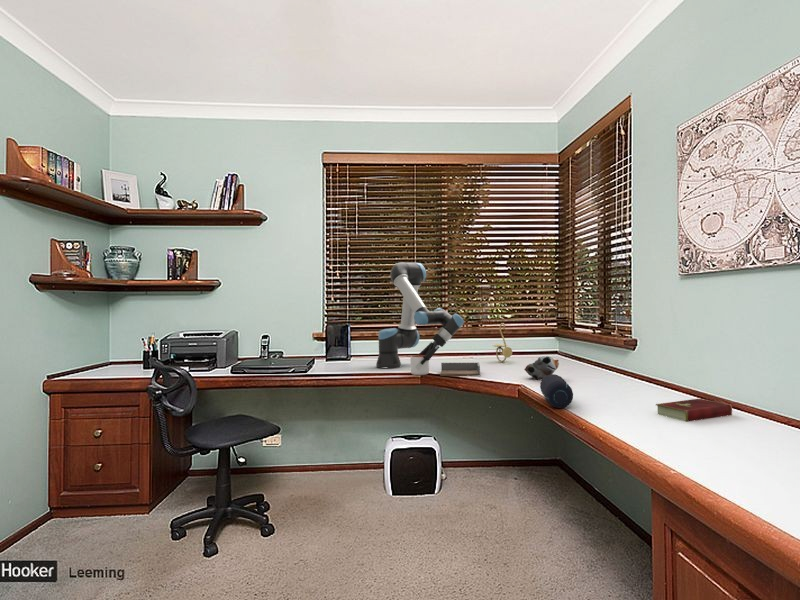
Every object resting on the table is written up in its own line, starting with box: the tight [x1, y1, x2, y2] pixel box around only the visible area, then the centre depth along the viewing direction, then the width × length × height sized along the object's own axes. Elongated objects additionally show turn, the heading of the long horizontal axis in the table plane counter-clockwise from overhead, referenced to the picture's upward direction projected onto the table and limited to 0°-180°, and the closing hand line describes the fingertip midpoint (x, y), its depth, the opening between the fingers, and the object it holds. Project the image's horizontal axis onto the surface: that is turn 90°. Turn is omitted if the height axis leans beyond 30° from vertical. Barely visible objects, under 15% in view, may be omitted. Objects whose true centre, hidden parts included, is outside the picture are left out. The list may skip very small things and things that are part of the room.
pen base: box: [439, 370, 481, 377], centre depth 275 cm, size 15×21×1 cm
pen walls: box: [440, 362, 481, 375], centre depth 275 cm, size 15×21×4 cm
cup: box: [410, 354, 430, 376], centre depth 277 cm, size 10×10×10 cm
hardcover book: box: [655, 398, 733, 422], centre depth 171 cm, size 12×21×4 cm, turn 111°
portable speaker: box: [539, 373, 574, 409], centre depth 195 cm, size 25×10×10 cm, turn 171°
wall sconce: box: [492, 322, 513, 363], centre depth 321 cm, size 14×10×25 cm
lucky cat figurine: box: [524, 355, 560, 380], centre depth 254 cm, size 15×12×14 cm
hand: (414, 366), depth 277 cm, fingers open, 11 cm apart
